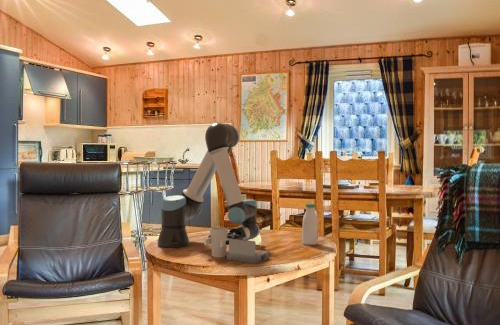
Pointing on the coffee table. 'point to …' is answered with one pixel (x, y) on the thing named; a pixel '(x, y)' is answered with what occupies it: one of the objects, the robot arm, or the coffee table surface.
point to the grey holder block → (245, 252)
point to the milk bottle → (310, 226)
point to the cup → (218, 241)
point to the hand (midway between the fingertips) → (212, 242)
